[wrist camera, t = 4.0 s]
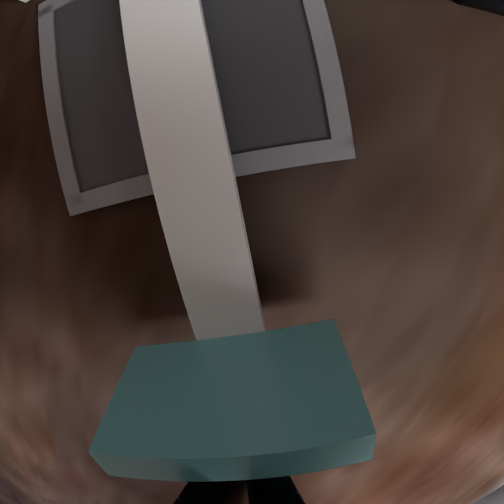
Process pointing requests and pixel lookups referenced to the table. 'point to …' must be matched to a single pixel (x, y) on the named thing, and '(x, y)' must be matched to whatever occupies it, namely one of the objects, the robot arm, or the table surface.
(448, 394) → the table surface
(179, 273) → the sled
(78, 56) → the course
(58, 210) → the table surface
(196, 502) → the robot arm
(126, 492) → the table surface
